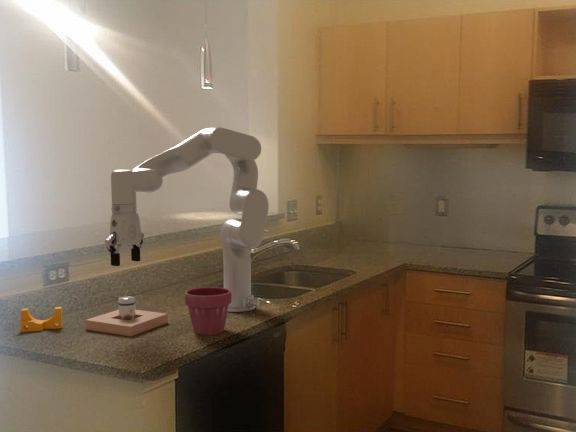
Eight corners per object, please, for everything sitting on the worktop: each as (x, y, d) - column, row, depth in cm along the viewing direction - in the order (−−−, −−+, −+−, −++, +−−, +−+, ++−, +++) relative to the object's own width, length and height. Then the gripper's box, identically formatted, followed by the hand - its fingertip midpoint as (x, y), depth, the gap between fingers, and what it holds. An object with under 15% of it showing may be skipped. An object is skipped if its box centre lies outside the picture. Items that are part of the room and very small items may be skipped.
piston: (139, 324, 224) (138, 297, 224) (128, 328, 220) (127, 300, 219) (126, 323, 227) (125, 295, 226) (115, 327, 222) (114, 299, 221)
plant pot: (210, 323, 226) (209, 284, 225) (241, 330, 217) (241, 290, 216) (176, 332, 215) (175, 291, 214) (207, 340, 206) (206, 298, 205)
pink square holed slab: (167, 322, 227) (167, 313, 227) (131, 336, 211) (130, 326, 211) (124, 316, 235) (123, 307, 235) (85, 329, 219) (85, 319, 219)
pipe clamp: (20, 332, 217) (19, 311, 216) (22, 328, 221) (22, 308, 220) (61, 330, 219) (60, 309, 219) (62, 326, 224) (62, 306, 223)
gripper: (114, 212, 210) (116, 268, 212) (151, 207, 225) (152, 260, 227) (95, 211, 214) (97, 266, 215) (132, 206, 229) (134, 258, 231)
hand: (125, 263), depth 221 cm, fingers open, 9 cm apart
